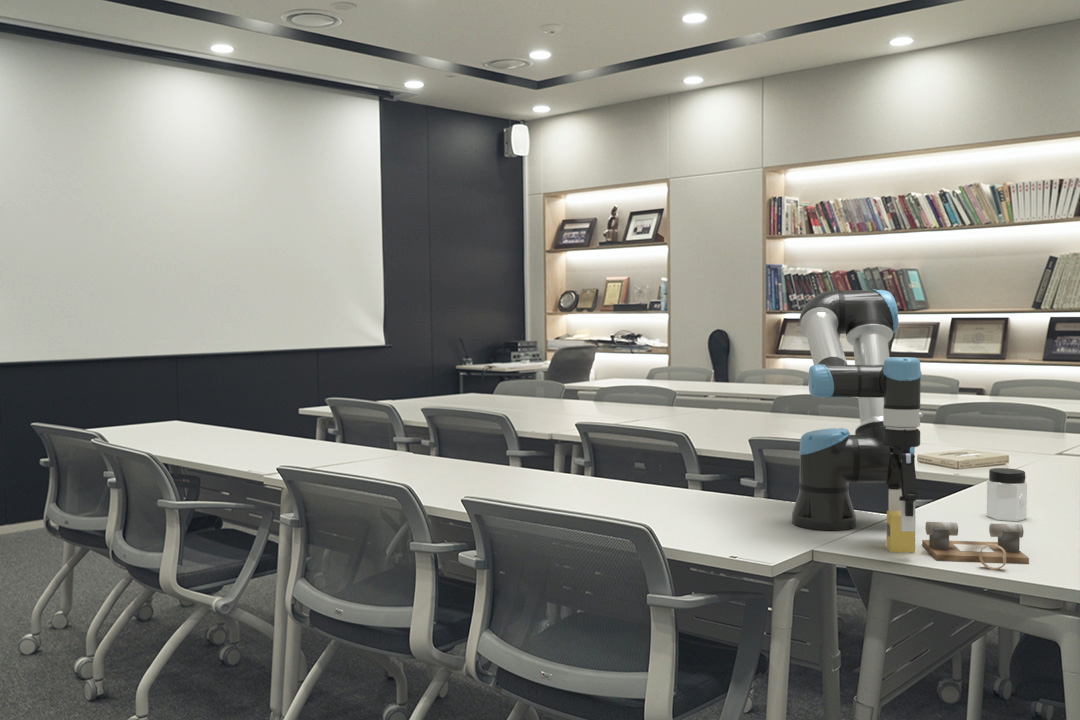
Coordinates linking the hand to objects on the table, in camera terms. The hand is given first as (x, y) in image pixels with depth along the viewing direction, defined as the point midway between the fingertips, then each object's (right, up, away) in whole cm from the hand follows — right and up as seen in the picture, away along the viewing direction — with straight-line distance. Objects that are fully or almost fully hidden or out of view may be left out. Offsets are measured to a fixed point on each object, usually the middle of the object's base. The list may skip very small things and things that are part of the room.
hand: (901, 524), depth 202 cm
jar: (+38, -4, +30) cm, 49 cm away
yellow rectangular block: (0, -6, +1) cm, 6 cm away
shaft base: (+14, -6, -4) cm, 16 cm away
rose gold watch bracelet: (+13, -7, -15) cm, 21 cm away
